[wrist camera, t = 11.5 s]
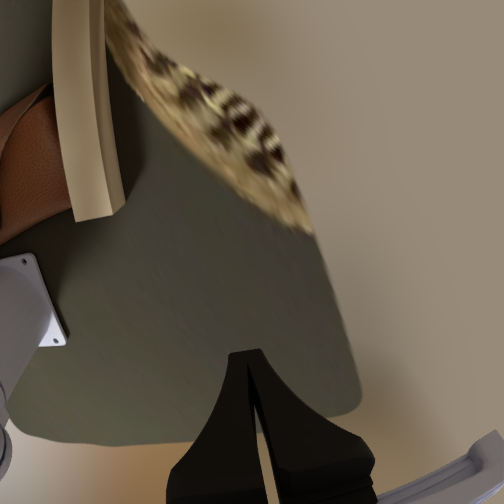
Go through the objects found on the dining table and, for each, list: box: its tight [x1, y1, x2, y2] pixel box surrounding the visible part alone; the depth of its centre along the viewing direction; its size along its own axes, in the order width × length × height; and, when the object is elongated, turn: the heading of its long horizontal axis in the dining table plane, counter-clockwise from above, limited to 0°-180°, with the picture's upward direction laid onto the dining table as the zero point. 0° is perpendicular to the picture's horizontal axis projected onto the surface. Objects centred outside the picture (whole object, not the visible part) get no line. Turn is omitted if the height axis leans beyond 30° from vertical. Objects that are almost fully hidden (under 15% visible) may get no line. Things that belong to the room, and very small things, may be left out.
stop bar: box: [52, 0, 126, 222], centre depth 14 cm, size 2×18×3 cm, turn 6°
